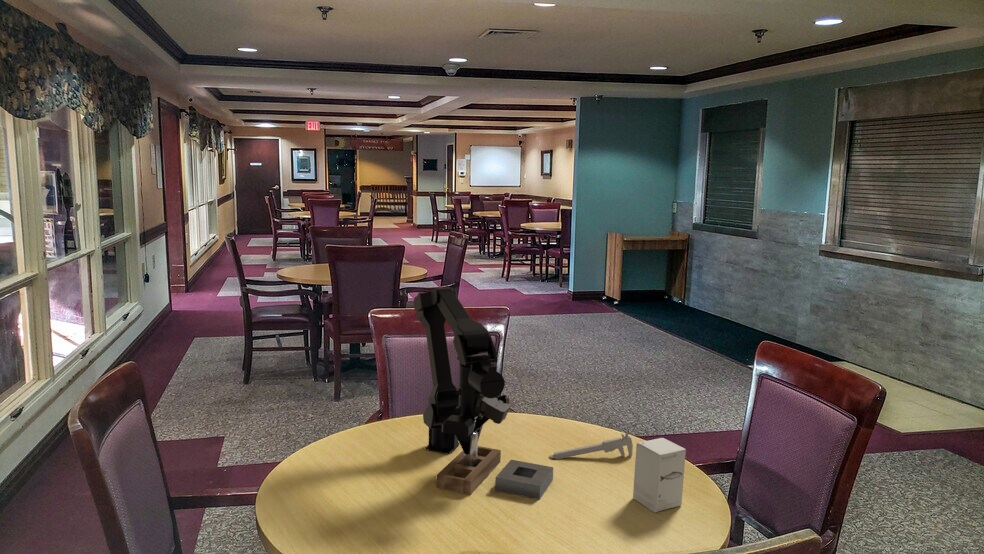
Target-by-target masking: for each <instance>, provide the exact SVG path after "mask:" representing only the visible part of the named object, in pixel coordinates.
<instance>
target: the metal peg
mask: <svg viewBox="0 0 984 554" xmlns="http://www.w3.org/2000/svg"><path fill="white" fill-rule="evenodd" d="M478 443H479V440H478V431H476V432H475V433H473V439H472V445H471V450H470V454H469V455H467V454H465V453H464V451H463V450H462V451H463V465H466V466H471V467H476V466H477V453H478V446H479V445H478Z"/></svg>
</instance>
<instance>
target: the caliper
mask: <svg viewBox="0 0 984 554" xmlns="http://www.w3.org/2000/svg"><path fill="white" fill-rule="evenodd" d="M625 446H626V448H627V452H628V456H629V457H630V458H631V457H632V456H633V446H634V445H633V440H632V437H631V436H630V435H629V434H628V431H627V432H625V434H624V433H622V432H621V437H617V438H611V439H606V440H603V441H602V442H601V443H596V444H590V445H585V446H580V447H575V448H570V449H564V450H560V451H555V452H553V454H550V455H549V456H548V458H549V459H550V460H551V459H555V460H559V459H560V458H561V459H565V458H572V457H576V456H581V455H585V454H590V453H596V452H600V451H601V452H602V451H604V453H606V454H607V453H608V452H614V451H615V450H617V449H618V451H619V453H620V455H621V457H623V458H625V457H626V456H625V450H624V447H625Z"/></svg>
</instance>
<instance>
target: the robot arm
mask: <svg viewBox="0 0 984 554" xmlns="http://www.w3.org/2000/svg"><path fill="white" fill-rule="evenodd" d="M413 309H414V311H415V312H416V318H417V320H418V321H419V322H420V324H421V325H422V326H423V327H424V329H425V336H426V342H427V349H428V357H429V364H430V365H429V366H430V372H431V379H432V388H431V390H430V393H429V395H428V398H427V399H428V400H427V401H428V405H427V407H426V408H425V410H424V412H423V414H422V419H423V423H424V425H426V426H427V427H428V445H427V446H425V450H426V451H430V452H437V453H441V454H447V455H449V454H451V453H452V452H453V451H455V449H456V448H458V447H459V446H460V447H461V450H462V451H464V453H465V454H467V455H469V454H470V450H471V445H472V439H473V433H475V432H476V431H478V441H479V439H480V436H481V434H482V433H481V432H482V430H483V426H484V424H486V423H487V422H488V421H490V420H491V421H492V422H493V423H494V424H497V425H498V424H501V423H502V422H503V421H504V420H506V418H507V415H508V413H509V411H510V410H511V403H510V397H509V395H507V394H505V393H503V391H504V389H505V386H506V381H505V379H504V376H503V375H502V374H501V373H500V372H498V371H497V365H496V364H492V363H497V362H498V357H497V355H498V351H497V349H496V346H495V344H494V342H493V338H492V335H491V333H490V332H489V330H488V329H487V328H486V327H485V326H484V325H483V324H482V323H481V322H478V321H476V320H473V319H472V318H471V315H469V314H468V312H467V310H466V308H465V307H464V306H463V304H462V303H461V301H460V300H459V298H458V297H457V294H456V290H455V288H452V287H436V288H434V289H431V290H429V291H425V292H423V291H420V292H418V293H417V295H416V296H415V297H414V298H413ZM446 322H447V324H448V325H449V328H450V329H451V330H452V332H453V334H454V336H453V340H452V343H453V346H454V350H455V351H456V354H457V356H456V359H457V361H459V365H458V366H459V367H458V368H459V371H458V375H459V376H458V387H456V385H455V384H454V382H453V378H452V377H453V376H452V371H451V370H452V368H451V363H450V356H449V349H448V342H447V335H446V327H445V323H446Z"/></svg>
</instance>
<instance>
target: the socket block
mask: <svg viewBox="0 0 984 554" xmlns="http://www.w3.org/2000/svg"><path fill="white" fill-rule="evenodd" d="M494 479H495V483H494V484H495V485H494V487H495V488H494V490H495V491H497V492H501V493H505V494H506V493H507V494H510V495H516V496H521V497H525V498H530V499H534V500H541V498H542V497H543V495H544V493H546V491H547V490H548V487H550V485H551V483H553V480H554V466H548V465H544V464H538V463H532V462H528V461H527V462H526V461H522V460H515V459H510V460H509V461H508V462H507V464H506V465H505V466H504V467H503V468H502V469H501V470H500V471H499V472H498V474H497V475H496V476H495V478H494Z"/></svg>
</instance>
